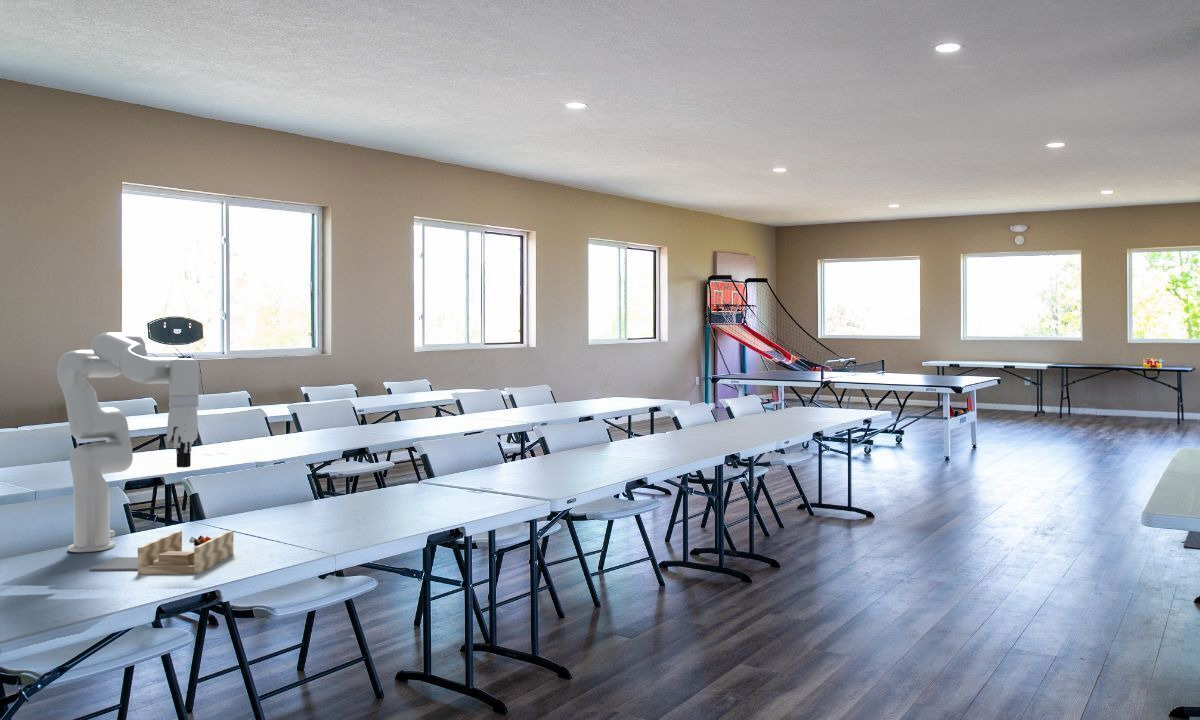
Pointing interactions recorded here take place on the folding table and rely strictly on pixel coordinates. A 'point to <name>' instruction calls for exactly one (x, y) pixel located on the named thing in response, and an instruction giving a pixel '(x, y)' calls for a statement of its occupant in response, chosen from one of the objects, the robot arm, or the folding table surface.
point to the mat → (118, 564)
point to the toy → (199, 540)
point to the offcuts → (175, 558)
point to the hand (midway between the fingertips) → (183, 466)
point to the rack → (203, 553)
